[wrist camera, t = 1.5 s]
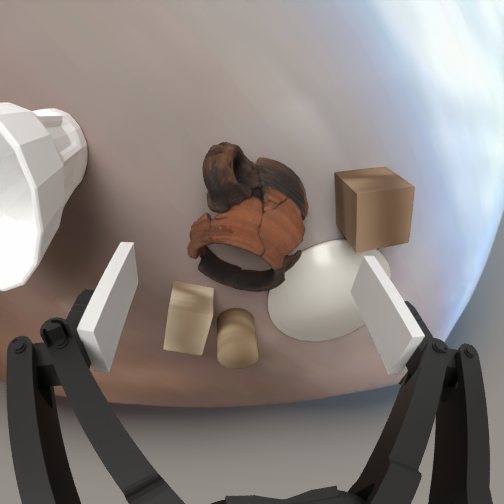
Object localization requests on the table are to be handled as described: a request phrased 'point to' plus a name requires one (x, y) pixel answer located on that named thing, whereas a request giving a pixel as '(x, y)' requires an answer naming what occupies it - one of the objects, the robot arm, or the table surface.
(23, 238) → the cup
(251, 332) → the oak dowel offcut
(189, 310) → the maple block
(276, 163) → the pottery mug
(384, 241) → the walnut block
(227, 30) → the table surface
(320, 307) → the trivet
